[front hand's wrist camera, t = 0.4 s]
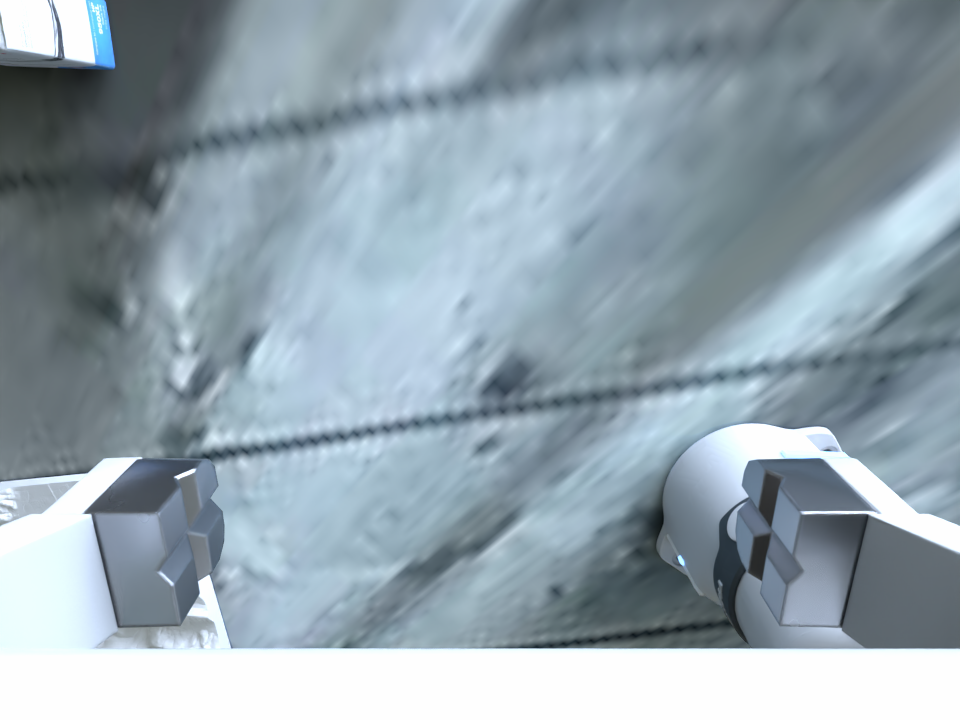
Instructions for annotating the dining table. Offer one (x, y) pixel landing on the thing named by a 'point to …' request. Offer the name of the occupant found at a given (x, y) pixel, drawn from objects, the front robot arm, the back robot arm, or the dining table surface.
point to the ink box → (55, 34)
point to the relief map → (194, 633)
